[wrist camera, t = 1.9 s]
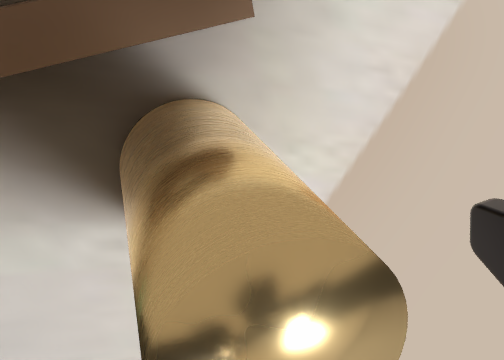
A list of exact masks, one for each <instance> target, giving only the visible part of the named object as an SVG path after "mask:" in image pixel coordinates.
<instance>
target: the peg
mask: <svg viewBox="0 0 504 360" xmlns="http://www.w3.org/2000/svg"><path fill="white" fill-rule="evenodd" d="M120 178H121V186H122V195H123V204H124V212H125V221H126V229H127V238H128V247H129V255H130V264H131V272H132V281H133V290H134V298H135V307H136V315H137V324H138V333H139V341H140V350H141V358H142V360H398V359H399V357H400V355H401V352H402V349H403V346H404V342H405V338H406V332H407V322H408V312H407V305H406V299H405V296H404V293H403V290H402V287H401V285H400V283H399V282H398V280H397V278H396V276H395V275H394V274H393V272H392V271H391V270H390V269H389V267H388V266H387V265H386V264H385V263H384V262H383V261H382V260H381V259H380V258H379V257H378V256H377V255H376V254H375V253H374V252H373V251H372V250H371V249H370V248H369V247H368V246H367V245H366V244H365V243H364V242H363V241H362V240H361V239H360V238H359V237H358V236H357V235H356V234H355V233H354V232H353V231H352V230H351V229H350V228H349V227H348V226H347V225H346V224H345V223H344V222H342V220H340V219H339V217H338V216H337V215H336V214H335V213H334V212H333V211H332V210H331V209H330V208H329V207H328V206H327V205H326V204H325V203H324V202H323V201H322V200H321V199H320V198H319V197H318V196H317V195H316V194H315V193H314V192H313V191H312V190H311V189H310V188H309V187H308V186H307V185H306V184H305V183H304V182H303V181H302V180H300V179H299V178H298V177H297V176H296V175H295V174H294V173H293V172H292V171H291V170H290V169H289V168H288V167H287V166H286V165H285V164H284V163H283V162H282V161H281V160H280V159H279V158H278V157H277V156H276V155H275V154H274V153H273V152H272V151H271V150H270V149H269V148H268V147H267V146H266V145H265V144H264V143H263V142H262V141H261V140H260V139H259V138H258V137H257V136H256V135H255V134H254V133H253V132H252V131H251V130H250V129H249V128H248V127H247V126H246V125H245V124H244V123H243V122H242V121H241V120H240V119H239V118H238V117H237V116H236V115H235V114H234V113H232V112H231V111H230V110H228V109H227V108H225V107H223V106H221V105H219V104H216V103H213V102H210V101H206V100H201V99H182V100H177V101H172V102H169V103H166V104H163V105H161V106H159V107H157V108H155V109H153V110H152V111H150V112H149V113H147V114H146V115H145V116H144V117H143V118H141V119H140V120H139V121H138V123H137V124H136V125H135V126H134V127H133V128H132V130H131V131H130V133H129V134H128V136H127V138H126V140H125V142H124V145H123V148H122V151H121V156H120Z"/></svg>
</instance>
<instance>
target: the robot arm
mask: <svg viewBox="0 0 504 360" xmlns="http://www.w3.org/2000/svg"><path fill="white" fill-rule="evenodd" d="M470 214H471V215H470V216H471V217H470V243H471V247H472V249H473V251H474V252H475V254H476V255H477V257H478V258H479V259H480V260H481V261H482V262H483V263H484V265H485V266H486V267H487V268H488V269H489V270H490V272H491V273H492V274H493V275H494V276H495V277H496V278H497V280H498V281H499V282H500V283H501V284H502V285H503V286H504V200H502V199H495V198H494V199H488V200H486V201H483V202H480V203H477V204H475V205H474V206H473V207H472V209H471V213H470Z"/></svg>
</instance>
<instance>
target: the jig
mask: <svg viewBox="0 0 504 360" xmlns="http://www.w3.org/2000/svg"><path fill="white" fill-rule="evenodd" d="M250 17H255V16H254V11H253V5H252V0H29V1H25V2H20V3H15V4H11V5H6V6H1V7H0V78H2V77H6V76H10V75H14V74H18V73H22V72H26V71H31V70H35V69H39V68H43V67H47V66H51V65H55V64H60V63H64V62H68V61H72V60H76V59H80V58H85V57H89V56H93V55H97V54H101V53H105V52H109V51H114V50H118V49H122V48H126V47H130V46H134V45H138V44H143V43H147V42H151V41H155V40H159V39H163V38H167V37H172V36H176V35H180V34H184V33H188V32H192V31H197V30H201V29H205V28H209V27H213V26H217V25H221V24H226V23H230V22H234V21H238V20H242V19H246V18H250Z"/></svg>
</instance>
